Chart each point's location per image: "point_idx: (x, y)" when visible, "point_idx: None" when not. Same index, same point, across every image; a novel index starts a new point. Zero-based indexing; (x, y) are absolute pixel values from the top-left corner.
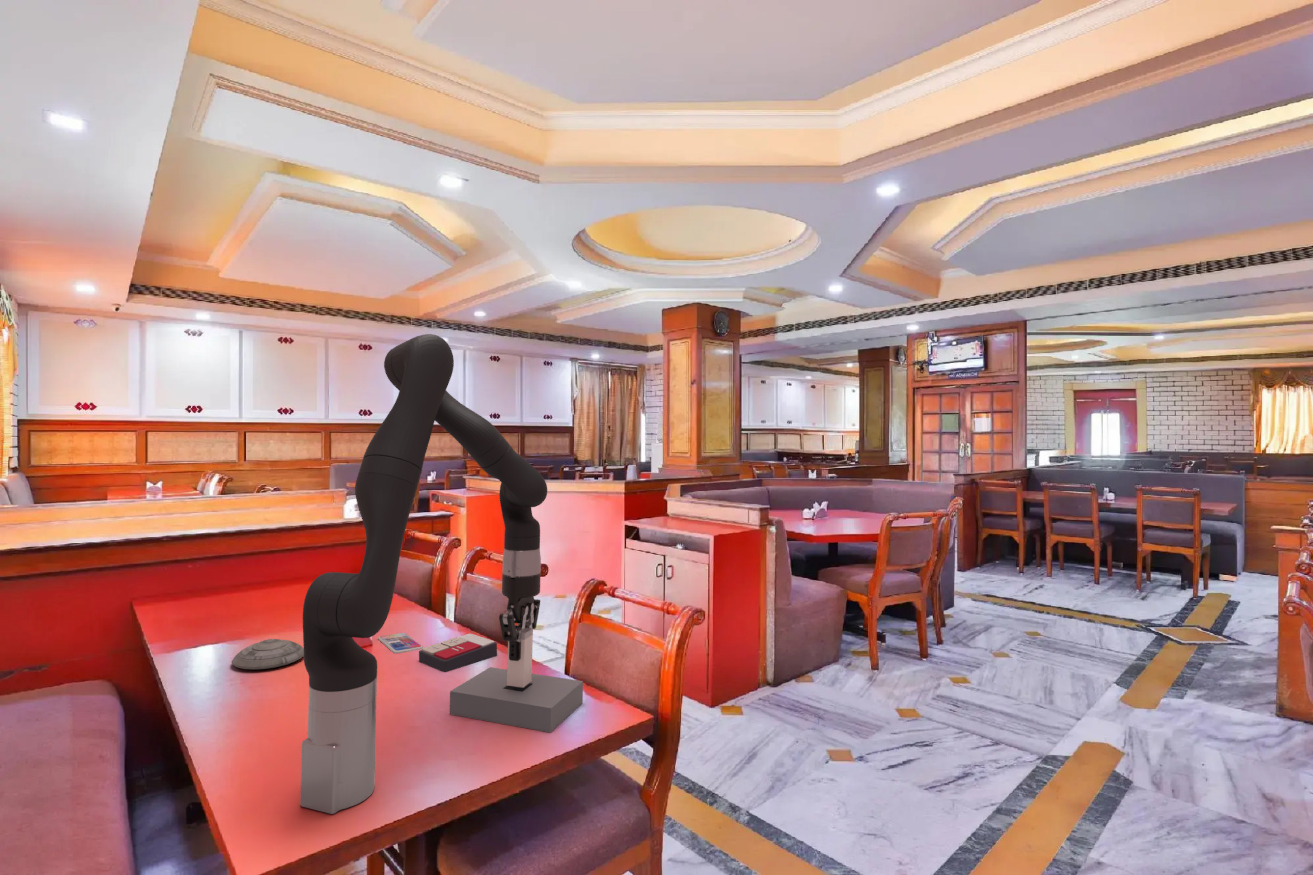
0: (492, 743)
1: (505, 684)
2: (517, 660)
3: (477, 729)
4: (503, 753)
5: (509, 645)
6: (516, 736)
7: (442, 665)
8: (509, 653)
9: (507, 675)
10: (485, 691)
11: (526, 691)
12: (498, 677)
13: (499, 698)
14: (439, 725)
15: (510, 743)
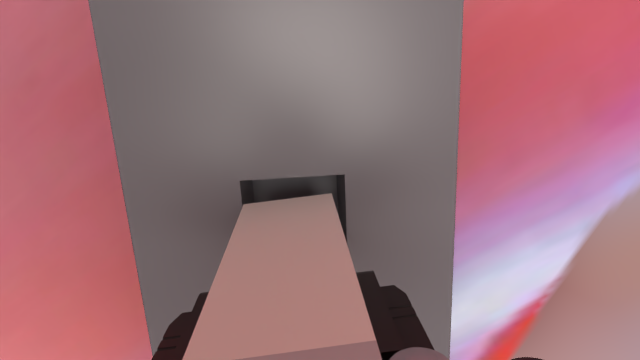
0: (39, 270)
1: (285, 164)
2: None
3: (88, 167)
4: (11, 332)
5: (173, 355)
6: (118, 306)
7: None
8: (163, 337)
9: (237, 222)
10: (170, 128)
11: None
12: (349, 77)
13: (141, 232)
14: (32, 11)
15: (71, 316)
